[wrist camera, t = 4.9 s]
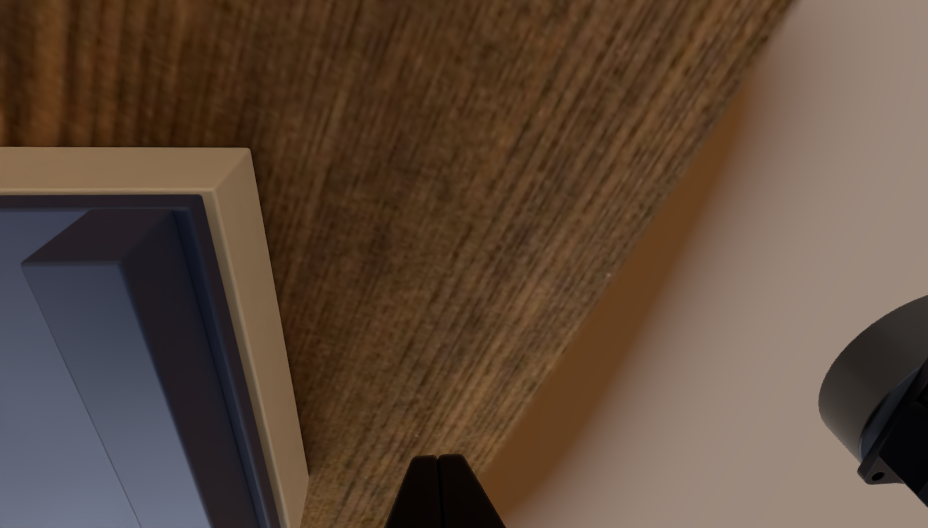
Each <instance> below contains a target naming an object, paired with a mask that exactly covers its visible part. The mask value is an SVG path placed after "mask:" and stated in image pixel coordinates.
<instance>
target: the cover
mask: <svg viewBox="0 0 928 528" xmlns="http://www.w3.org/2000/svg"><path fill="white" fill-rule="evenodd" d="M0 528H281V526H280V522H279V518H278V513H277V509H276V505H275V501H274V497H273V492H272V488H271V484H270V480H269V476H268V471H267V467H266V463H265V459H264V454H263V450H262V446H261V442H260V438H259V433H258V429H257V425H256V421H255V417H254V412H253V408H252V404H251V400H250V396H249V391H248V387H247V383H246V379H245V375H244V370H243V366H242V362H241V358H240V354H239V349H238V345H237V341H236V337H235V332H234V328H233V324H232V320H231V316H230V311H229V307H228V303H227V299H226V295H225V290H224V286H223V282H222V278H221V274H220V269H219V265H218V261H217V257H216V253H215V248H214V244H213V240H212V236H211V231H210V227H209V223H208V219H207V215H206V210H205V206H204V202H203V198H202V196H201V195H199V194H138V195H0Z"/></svg>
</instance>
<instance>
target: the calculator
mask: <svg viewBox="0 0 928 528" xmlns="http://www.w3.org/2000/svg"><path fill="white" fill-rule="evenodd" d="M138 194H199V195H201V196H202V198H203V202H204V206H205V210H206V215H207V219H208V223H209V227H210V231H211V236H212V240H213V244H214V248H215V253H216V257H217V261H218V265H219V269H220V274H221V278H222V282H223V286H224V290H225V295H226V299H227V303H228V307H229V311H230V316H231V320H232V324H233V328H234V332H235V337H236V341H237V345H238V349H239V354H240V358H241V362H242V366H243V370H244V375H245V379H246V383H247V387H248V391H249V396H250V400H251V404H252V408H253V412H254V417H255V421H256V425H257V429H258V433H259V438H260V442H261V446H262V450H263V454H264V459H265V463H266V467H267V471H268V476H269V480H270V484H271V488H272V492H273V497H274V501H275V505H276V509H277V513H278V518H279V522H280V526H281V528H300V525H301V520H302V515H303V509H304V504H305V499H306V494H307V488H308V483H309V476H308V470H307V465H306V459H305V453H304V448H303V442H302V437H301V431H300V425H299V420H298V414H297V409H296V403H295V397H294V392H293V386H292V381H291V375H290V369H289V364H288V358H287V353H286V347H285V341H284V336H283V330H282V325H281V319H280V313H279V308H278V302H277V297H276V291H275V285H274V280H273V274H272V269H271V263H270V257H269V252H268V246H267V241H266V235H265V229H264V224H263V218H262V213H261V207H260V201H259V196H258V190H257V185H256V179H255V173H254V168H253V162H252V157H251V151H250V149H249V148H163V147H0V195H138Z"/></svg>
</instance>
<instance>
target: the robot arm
mask: <svg viewBox="0 0 928 528" xmlns="http://www.w3.org/2000/svg"><path fill="white" fill-rule="evenodd" d="M857 473H858V475H859V476H860V477H861V478H862V479H863V481H864V482H865V483H867V484H869V485H877V484H892V483H904V484H905V485H906V486H907V487H908V488H909V489H910V490H911V491H912V492H913V493H914V494H915V495H916V496H917V497H918V498H919V499H920V500H921V501H922V502H923V503H924V504H925V505H926V506H927V507H928V357H927V359H926V360H925V362H924V364H923V365H922V367H921V368H920V370H919V372H918V373H917V375H916V376H915V378H914V380H913V381H912V383H911V384H910V386H909V388H908V389H907V391H906V392H905V394H904V395H903V397H902V399H901V400H900V402H899V403H898V405H897V407H896V408H895V410H894V411H893V413H892V415H891V416H890V418H889V419H888V421H887V423H886V424H885V426H884V427H883V429H882V431H881V432H880V434H879V435H878V437H877V439H876V440H875V442H874V443H873V445H872V447H871V448H870V450H869V451H868V453H867V455H866V456H865V458H864V459H863V461H862V463H861V464H860V466H859V468H858V470H857ZM384 528H506V527H505V525H504V524H503V522H502V521H501V519H500V517H499V515H498V513H497V512H496V510H495V508H494V507H493V505H492V503H491V502H490V500H489V498H488V496H487V495H486V493H485V492H484V490H483V488H482V486H481V485H480V483H479V481H478V479H477V478H476V476H475V474H474V473H473V471H472V469H471V468H470V466H469V464H468V462H467V461H466V459H465V458H464V456H463V455H461V454H443V455H440V456H439V457H438V459H437V457H436V456H434V455H426V456H415V457H413V459H412V460H411V462H410V464H409V467H408V469H407V472H406V474H405V477H404V479H403V482H402V484H401V487H400V489H399V492H398V494H397V497H396V499H395V502H394V504H393V507H392V509H391V512H390V514H389V517H388V519H387V522H386V524H385V527H384Z"/></svg>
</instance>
